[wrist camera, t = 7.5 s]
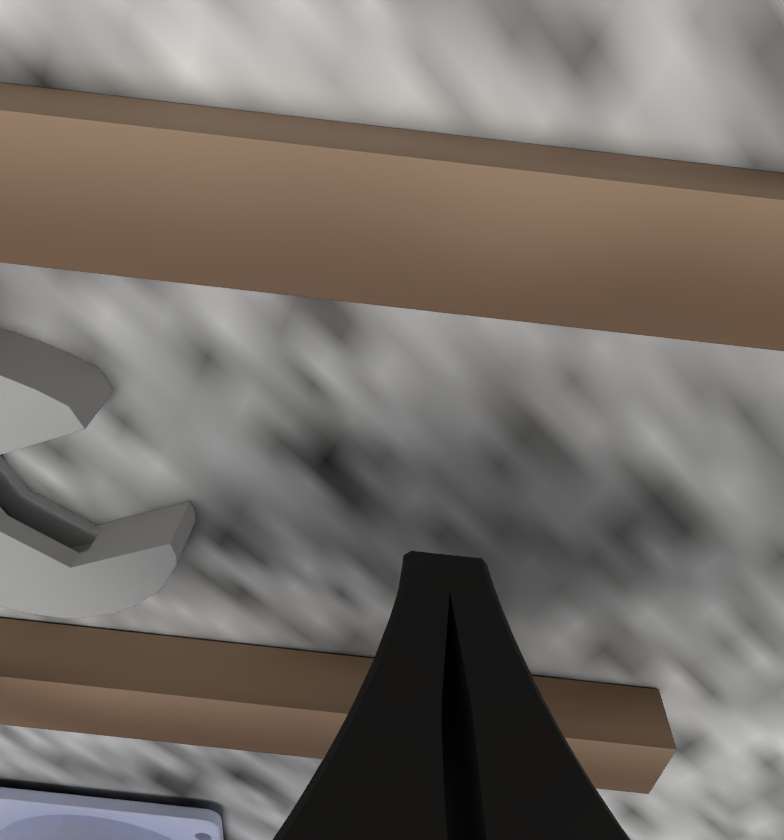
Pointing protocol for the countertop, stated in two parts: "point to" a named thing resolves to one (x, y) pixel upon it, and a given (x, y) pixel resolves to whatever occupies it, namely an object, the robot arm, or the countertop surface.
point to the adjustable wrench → (58, 527)
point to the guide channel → (370, 284)
